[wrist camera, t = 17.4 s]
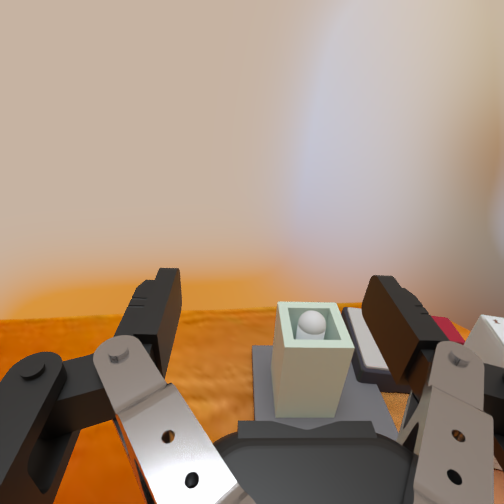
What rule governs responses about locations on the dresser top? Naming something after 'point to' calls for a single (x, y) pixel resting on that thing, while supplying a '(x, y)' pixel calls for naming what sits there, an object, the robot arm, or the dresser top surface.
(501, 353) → the supplement box
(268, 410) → the post stand
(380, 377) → the dark gray paneled box
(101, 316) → the dresser top surface
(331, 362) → the sleeve
